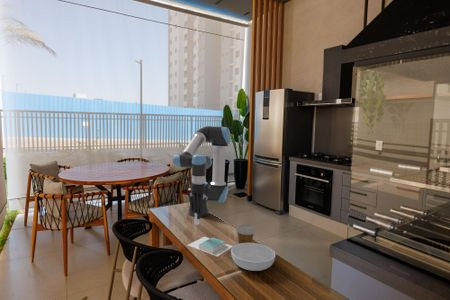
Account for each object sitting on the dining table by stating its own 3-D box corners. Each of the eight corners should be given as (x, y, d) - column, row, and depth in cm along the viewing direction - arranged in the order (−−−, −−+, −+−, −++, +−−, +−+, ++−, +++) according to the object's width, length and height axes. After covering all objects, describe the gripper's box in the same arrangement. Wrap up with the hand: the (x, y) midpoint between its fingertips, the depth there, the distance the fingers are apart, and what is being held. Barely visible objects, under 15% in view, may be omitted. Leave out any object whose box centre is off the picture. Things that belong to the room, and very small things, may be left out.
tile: (212, 237, 151) (225, 241, 146) (212, 241, 151) (225, 245, 146) (198, 244, 141) (212, 249, 136) (198, 248, 141) (212, 253, 136)
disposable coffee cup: (255, 248, 147) (257, 226, 146) (249, 255, 138) (251, 232, 137) (239, 244, 150) (240, 223, 150) (232, 251, 142) (234, 228, 141)
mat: (204, 237, 157) (204, 236, 157) (233, 247, 146) (233, 246, 146) (187, 246, 145) (187, 245, 145) (217, 257, 134) (217, 256, 134)
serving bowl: (284, 271, 125) (285, 256, 124) (246, 282, 114) (247, 266, 113) (256, 251, 142) (257, 239, 142) (222, 260, 132) (223, 246, 131)
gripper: (184, 182, 149) (183, 223, 152) (203, 185, 142) (201, 229, 145) (193, 179, 156) (192, 219, 158) (211, 183, 148) (210, 225, 151)
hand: (196, 224), depth 151 cm, fingers closed
